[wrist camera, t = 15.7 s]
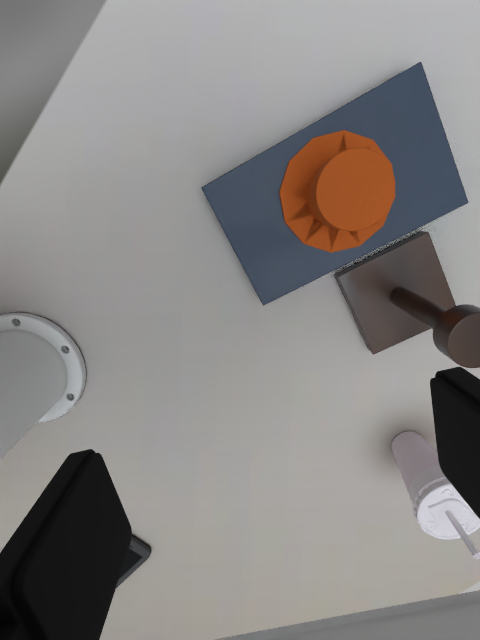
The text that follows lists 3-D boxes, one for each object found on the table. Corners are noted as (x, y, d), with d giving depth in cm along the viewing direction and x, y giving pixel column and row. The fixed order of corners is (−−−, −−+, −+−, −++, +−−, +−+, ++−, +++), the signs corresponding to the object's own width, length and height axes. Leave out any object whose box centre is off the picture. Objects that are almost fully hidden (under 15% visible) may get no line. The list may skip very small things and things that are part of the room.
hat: (308, 271, 33) (320, 283, 28) (259, 168, 31) (261, 159, 25) (410, 219, 32) (446, 220, 26) (367, 107, 29) (396, 82, 24)
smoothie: (391, 415, 40) (462, 516, 27) (445, 428, 41) (542, 534, 27) (371, 462, 42) (429, 578, 29) (423, 473, 42) (504, 594, 29)
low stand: (262, 299, 37) (263, 305, 34) (204, 189, 34) (201, 187, 32) (453, 203, 34) (469, 202, 31) (408, 72, 31) (421, 61, 28)
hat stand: (368, 349, 38) (433, 424, 25) (334, 274, 36) (385, 311, 23) (451, 311, 37) (567, 368, 23) (421, 230, 35) (530, 243, 21)
